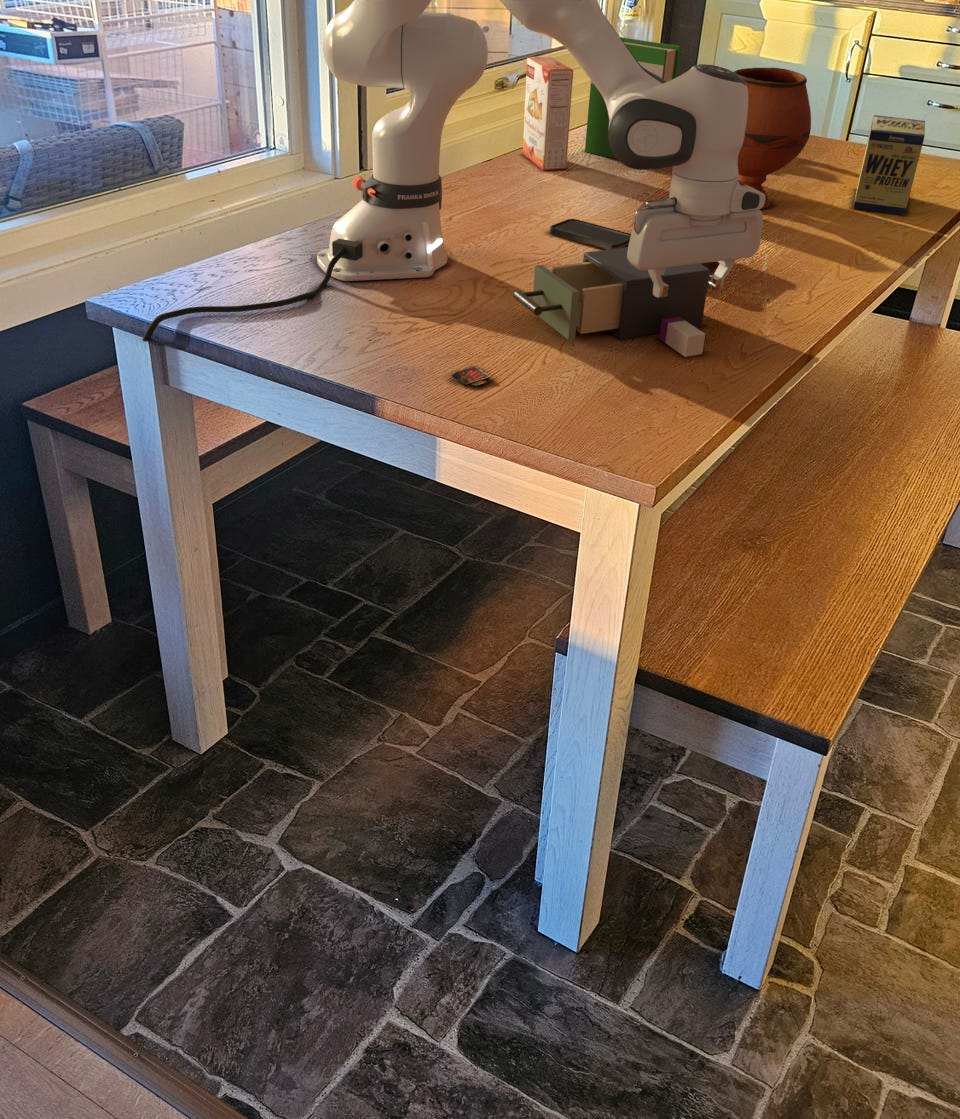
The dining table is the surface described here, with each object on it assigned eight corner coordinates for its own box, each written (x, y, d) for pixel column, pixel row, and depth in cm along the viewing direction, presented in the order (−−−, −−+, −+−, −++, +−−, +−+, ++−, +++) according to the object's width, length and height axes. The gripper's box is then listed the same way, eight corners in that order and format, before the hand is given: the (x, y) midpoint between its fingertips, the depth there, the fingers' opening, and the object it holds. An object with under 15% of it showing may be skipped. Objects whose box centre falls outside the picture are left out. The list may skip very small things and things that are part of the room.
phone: (571, 217, 208) (638, 235, 200) (571, 223, 208) (637, 241, 201) (547, 227, 203) (614, 245, 195) (546, 233, 203) (614, 251, 196)
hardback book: (666, 159, 251) (681, 46, 237) (651, 165, 246) (665, 50, 232) (600, 145, 259) (611, 35, 246) (584, 151, 254) (594, 39, 240)
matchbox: (447, 378, 150) (447, 375, 149) (471, 366, 153) (471, 363, 153) (473, 388, 147) (473, 385, 147) (497, 376, 151) (497, 373, 150)
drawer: (539, 344, 159) (543, 296, 154) (504, 315, 167) (507, 269, 163) (646, 328, 165) (652, 281, 161) (607, 300, 174) (611, 255, 170)
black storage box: (620, 339, 163) (627, 280, 158) (578, 308, 173) (583, 252, 168) (701, 326, 169) (710, 269, 163) (656, 297, 178) (663, 242, 173)
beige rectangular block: (702, 354, 160) (706, 333, 158) (684, 357, 159) (687, 336, 157) (676, 336, 165) (679, 316, 163) (658, 339, 164) (661, 319, 162)
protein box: (852, 209, 223) (870, 130, 214) (856, 189, 235) (873, 114, 227) (905, 216, 221) (925, 136, 212) (906, 195, 233) (925, 119, 224)
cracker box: (520, 154, 250) (526, 56, 238) (545, 153, 251) (551, 55, 240) (541, 171, 239) (548, 68, 227) (566, 170, 240) (575, 68, 229)
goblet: (697, 212, 218) (717, 78, 204) (704, 186, 233) (723, 60, 219) (795, 222, 214) (821, 87, 200) (795, 195, 230) (820, 68, 216)
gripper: (648, 207, 143) (636, 308, 151) (775, 195, 150) (758, 291, 158) (624, 194, 148) (614, 293, 155) (748, 183, 155) (732, 277, 162)
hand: (687, 292), depth 157 cm, fingers open, 8 cm apart
